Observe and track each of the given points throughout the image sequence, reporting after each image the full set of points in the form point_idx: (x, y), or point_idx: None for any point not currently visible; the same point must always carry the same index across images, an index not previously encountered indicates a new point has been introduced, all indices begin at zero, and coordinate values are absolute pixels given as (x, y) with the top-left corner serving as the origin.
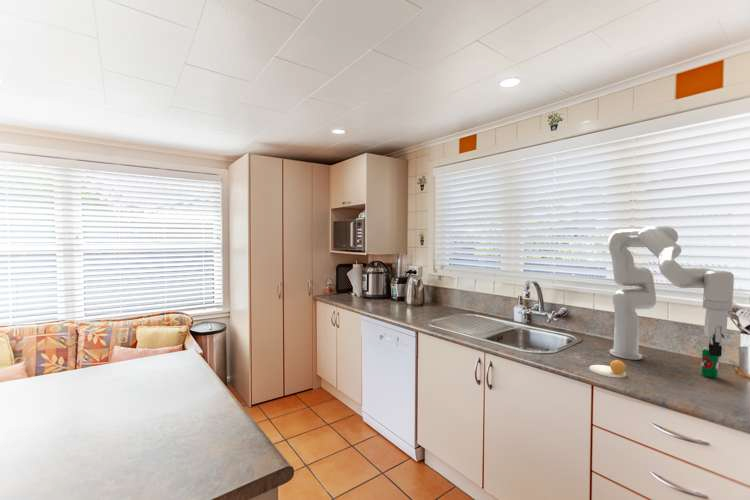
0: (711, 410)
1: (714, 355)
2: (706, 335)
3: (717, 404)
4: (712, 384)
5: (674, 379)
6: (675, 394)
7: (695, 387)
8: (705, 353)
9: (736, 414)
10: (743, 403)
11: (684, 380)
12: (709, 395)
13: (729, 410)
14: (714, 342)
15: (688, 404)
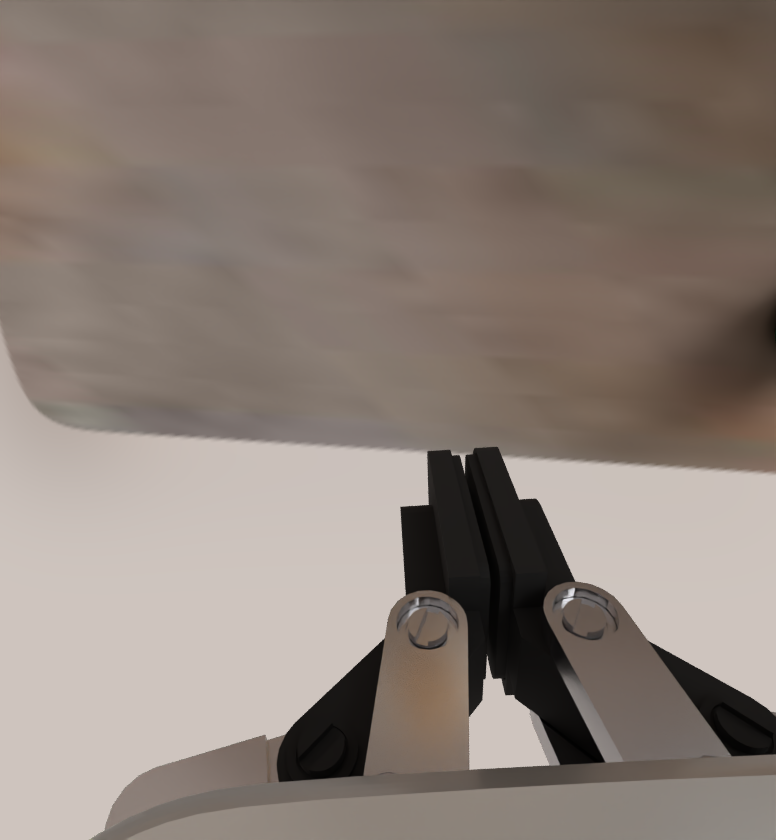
0: (61, 302)
1: (429, 498)
2: (175, 825)
3: (212, 336)
4: (622, 326)
5: (589, 55)
6: (164, 73)
7: (472, 221)
8: None
9: (132, 409)
10: (356, 447)
11: (609, 142)
12: (356, 301)
13: (165, 385)
14: (321, 706)
15: (25, 171)
